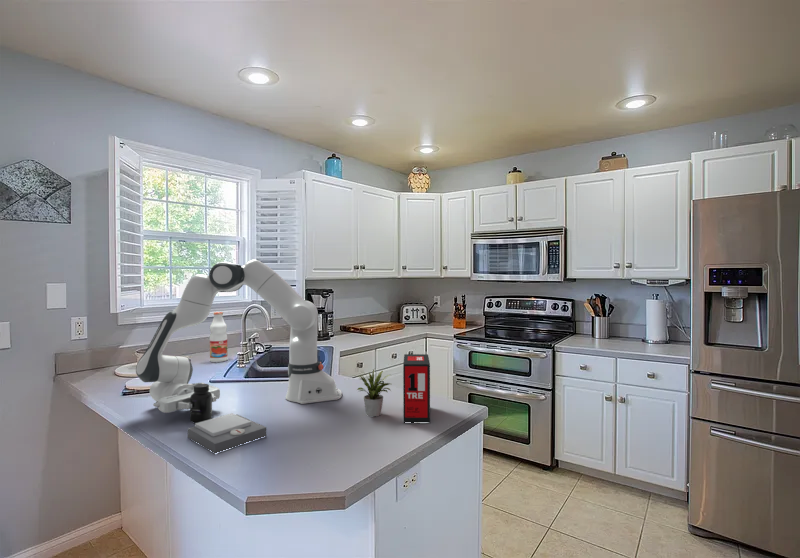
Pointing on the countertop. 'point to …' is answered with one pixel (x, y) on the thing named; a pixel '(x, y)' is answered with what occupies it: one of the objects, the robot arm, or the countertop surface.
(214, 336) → the fruit juice
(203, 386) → the supplement bottle
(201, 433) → the kitchen scale
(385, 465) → the countertop surface
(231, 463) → the countertop surface
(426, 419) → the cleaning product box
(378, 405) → the house plant
